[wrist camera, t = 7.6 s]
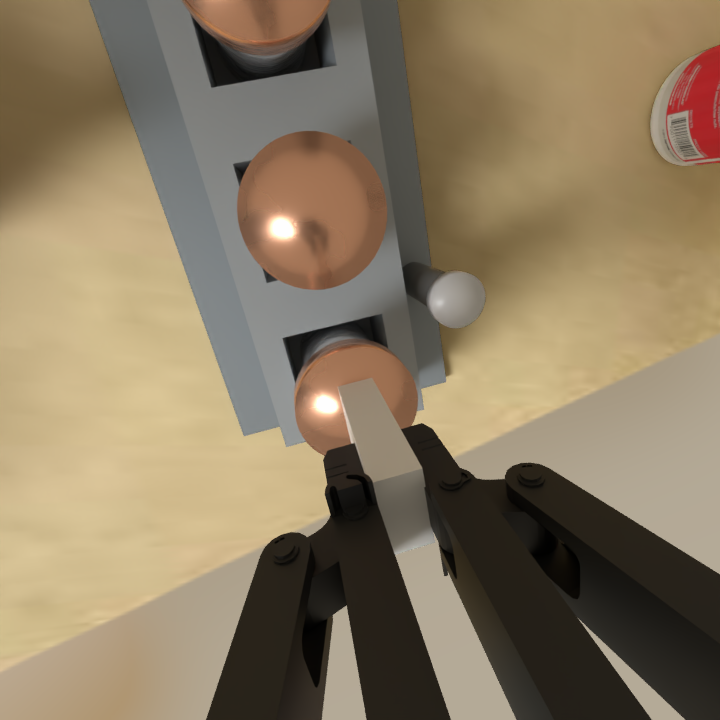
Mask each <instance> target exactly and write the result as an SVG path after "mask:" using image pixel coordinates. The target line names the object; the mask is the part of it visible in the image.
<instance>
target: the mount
mask: <svg viewBox="0 0 720 720" xmlns="http://www.w3.org/2000/svg"><path fill="white" fill-rule="evenodd" d="M89 2H90V4H91V7H92V10H93V13H94V16H95V18H96V21H97V24H98V27H99V30H100V33H101V35H102V38H103V41H104V44H105V47H106V49H107V52H108V55H109V58H110V61H111V63H112V66H113V69H114V72H115V75H116V78H117V80H118V83H119V86H120V89H121V92H122V94H123V97H124V100H125V103H126V106H127V109H128V111H129V114H130V117H131V120H132V123H133V125H134V128H135V131H136V134H137V137H138V139H139V142H140V145H141V148H142V151H143V154H144V156H145V159H146V162H147V165H148V168H149V170H150V173H151V176H152V179H153V182H154V184H155V187H156V190H157V193H158V196H159V199H160V201H161V204H162V207H163V210H164V213H165V215H166V218H167V221H168V224H169V227H170V229H171V232H172V235H173V238H174V241H175V244H176V246H177V249H178V252H179V255H180V258H181V260H182V263H183V266H184V269H185V272H186V275H187V277H188V280H189V283H190V286H191V289H192V291H193V294H194V297H195V300H196V303H197V305H198V308H199V311H200V314H201V317H202V320H203V322H204V325H205V328H206V331H207V334H208V336H209V339H210V342H211V345H212V348H213V350H214V353H215V356H216V359H217V362H218V365H219V367H220V370H221V373H222V376H223V379H224V381H225V384H226V387H227V390H228V393H229V395H230V398H231V401H232V404H233V407H234V410H235V412H236V415H237V418H238V421H239V424H240V426H241V429H242V432H243V435H244V436H246V435H250V434H254V433H257V432H261V431H265V430H269V429H272V428H276V427H280V428H281V431H282V435H283V438H284V441H285V444H286V447H288V446H292V445H296V444H299V443H303V442H306V441H305V439H304V438H303V436H302V435H301V433H300V431H299V428H298V426H297V422H296V418H295V406H294V388H295V383H296V380H297V377H298V375H299V373H300V371H301V369H302V362H301V356H300V341H301V338H302V335H303V333H305V332H309V331H313V330H317V329H321V328H325V327H329V326H333V325H337V324H342V323H346V322H350V321H355V322H356V323H357V324H358V325H359V326H360V327H361V328H362V330H363V331H364V333H365V334H366V336H367V337H368V338H369V340H371V341H374V342H377V343H379V344H381V345H383V346H385V347H387V348H388V349H389V350H391V351H392V352H393V353H394V354H395V355H396V356H397V357H398V358H399V360H400V361H401V362H402V363H403V365H404V366H405V367H406V368H407V369H408V371H409V372H410V374H411V375H412V377H413V379H414V382H415V384H416V388H417V393H418V407H417V411H420V410H424V406H423V399H422V393H421V389H422V388H425V387H429V386H433V385H437V384H440V383H444V382H446V376H445V368H444V360H443V353H442V345H441V337H440V329H439V322H438V321H437V320H436V319H434V318H433V317H432V316H431V314H430V312H429V310H428V308H427V306H425V305H424V304H422V303H421V302H419V301H417V300H416V299H414V298H413V297H411V296H410V295H408V294H407V293H406V290H405V284H404V278H403V271H402V268H403V267H404V266H405V265H407V264H409V263H411V262H419V263H422V264H424V265H427V266H430V267H431V260H430V252H429V244H428V236H427V229H426V221H425V213H424V205H423V198H422V190H421V182H420V174H419V167H418V159H417V151H416V143H415V136H414V128H413V120H412V112H411V105H410V97H409V89H408V81H407V74H406V66H405V58H404V50H403V43H402V35H401V27H400V19H399V12H398V4H397V0H331V3H330V6H329V8H328V11H327V13H326V15H325V17H324V19H323V20H322V22H321V24H320V25H319V27H318V28H317V29H316V31H315V32H314V33H313V34H312V35H311V36H310V37H309V38H308V39H307V42H306V48H305V54H304V59H303V62H302V65H301V68H300V70H299V72H297V73H292V74H286V75H280V76H275V77H269V78H264V79H258V80H252V81H247V82H240V81H239V80H238V79H236V78H235V77H234V76H233V75H232V74H231V73H230V71H229V70H228V69H227V67H226V66H225V64H224V62H223V61H222V59H221V56H220V54H219V52H218V49H217V46H216V44H215V41H214V38H213V37H212V36H211V35H210V34H209V33H208V32H207V31H206V30H204V29H203V28H202V27H201V26H200V25H199V23H198V22H197V21H196V20H195V19H194V18H193V17H192V15H191V14H190V13H189V11H188V10H187V8H186V7H185V5H184V4H183V2H182V0H89ZM300 131H319V132H324V133H329V134H332V135H335V136H337V137H339V138H341V139H343V140H345V141H347V142H349V143H350V144H352V145H353V146H355V147H356V148H357V149H358V150H359V151H360V152H361V153H363V154H364V156H365V157H366V158H367V159H368V160H369V161H370V163H371V164H372V166H373V167H374V169H375V170H376V172H377V174H378V176H379V178H380V180H381V183H382V186H383V189H384V192H385V197H386V203H387V223H386V230H385V234H384V238H383V241H382V243H381V246H380V248H379V250H378V252H377V254H376V255H375V257H374V259H373V260H372V261H371V263H370V264H369V265H368V266H367V267H366V268H365V269H364V270H363V271H362V272H361V273H360V274H359V275H357V276H356V277H355V278H353V279H352V280H350V281H348V282H346V283H344V284H342V285H340V286H336V287H333V288H329V289H323V290H308V289H301V288H297V287H293V286H290V285H288V284H285V283H283V282H281V281H279V280H277V279H276V278H274V277H273V276H271V275H270V274H269V273H267V272H266V271H265V270H264V269H263V268H262V267H261V266H260V265H259V264H258V263H257V261H256V260H255V259H254V258H253V256H252V255H251V253H250V252H249V250H248V248H247V246H246V244H245V242H244V240H243V237H242V234H241V232H240V228H239V223H238V216H237V198H238V192H239V187H240V184H241V180H242V178H243V175H244V173H245V171H246V169H247V167H248V166H249V164H250V162H251V161H252V159H253V158H254V157H255V156H256V155H257V154H258V152H259V151H261V150H262V149H263V148H264V147H265V146H266V145H267V144H269V143H271V142H272V141H274V140H275V139H277V138H280V137H282V136H284V135H287V134H290V133H294V132H300Z"/></svg>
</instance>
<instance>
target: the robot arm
mask: <svg viewBox="0 0 720 720" xmlns="http://www.w3.org/2000/svg"><path fill="white" fill-rule="evenodd" d="M338 390H339V395H340V399H341V403H342V407H343V411H344V415H345V419H346V424H347V428H348V432H349V436H350V440H351V444H349V445H345V446H341V447H338V448H334V449H331V450H327V453H326V455H325V457H324V460H323V462H324V467H325V473H326V478H327V487H326V489H325V496H326V500H327V503H328V507H329V510H330V514H331V516H330V518H329V520H328V521H327V523H326V524H325V525H324V526H323V527H322V528H321V529H320V530H318V531H317V532H316V533H314V534H312V535H311V536H309V537H306V536H305V535H303V534H301V533H293V532H290V533H286V534H283V535H280V536H278V537H277V538H275V539H273V540H272V541H271V542H270V543H269V544H268V545H267V546H266V547H265V548H264V550H263V552H262V554H261V556H260V559H259V562H258V565H257V568H256V571H255V574H254V577H253V580H252V583H251V586H250V589H249V592H248V595H247V598H246V601H245V604H244V607H243V610H242V613H241V616H240V619H239V622H238V625H237V628H236V632H235V634H234V637H233V641H232V643H231V646H230V649H229V652H228V656H227V658H226V661H225V664H224V667H223V670H222V674H221V677H220V679H219V683H218V686H217V689H216V692H215V695H214V698H213V701H212V704H211V707H210V710H209V713H208V716H207V719H206V720H322V711H323V702H324V694H325V684H326V676H327V666H328V659H329V649H330V640H331V632H332V623H333V614H335V613H336V612H337V611H339V610H340V609H342V608H343V607H345V606H346V605H347V609H348V615H349V621H350V626H351V632H352V638H353V644H354V649H355V655H356V660H357V667H358V672H359V678H360V684H361V690H362V695H363V701H364V707H365V713H366V718H367V720H451V719H450V716H449V713H448V710H447V707H446V704H445V701H444V698H443V696H442V692H441V689H440V686H439V684H438V681H437V678H436V675H435V672H434V669H433V666H432V663H431V660H430V657H429V654H428V651H427V648H426V645H425V643H424V640H423V636H422V633H421V630H420V627H419V624H418V622H417V619H416V616H415V613H414V610H413V607H412V604H411V601H410V598H409V595H408V592H407V589H406V586H405V583H404V580H403V578H402V574H401V571H400V569H399V566H398V563H397V560H396V557H395V555H396V554H400V553H403V552H406V551H409V550H412V549H416V548H419V547H422V546H425V545H429V544H432V543H435V540H434V534H435V536H436V538H437V540H438V542H439V547H440V553H441V560H442V566H443V572H444V576H447V575H448V573H449V575H450V577H451V579H452V581H453V583H454V586H455V588H456V590H457V592H458V594H459V596H460V599H461V600H462V603H463V605H464V607H465V609H466V611H467V614H468V616H469V618H470V620H471V622H472V624H473V626H474V629H475V631H476V633H477V635H478V637H479V640H480V642H481V644H482V646H483V648H484V650H485V653H486V655H487V657H488V659H489V661H490V663H491V665H492V668H493V670H494V672H495V674H496V676H497V679H498V681H499V683H500V685H501V687H502V689H503V691H504V694H505V696H506V698H507V700H508V702H509V704H510V707H511V709H512V711H513V713H514V715H515V717H516V719H517V720H651V718H650V717H649V715H648V714H647V713H646V711H645V710H644V709H643V707H642V706H641V705H640V703H639V702H638V700H637V699H636V698H635V696H634V695H633V694H632V692H631V691H630V689H629V688H628V687H627V685H626V684H625V683H624V681H623V680H622V678H621V677H620V676H619V674H618V673H617V672H616V670H615V669H614V667H613V666H612V665H611V663H610V662H609V661H608V659H607V658H606V656H605V655H604V654H603V652H602V651H601V650H600V648H599V647H598V645H597V644H596V643H595V641H594V640H593V639H592V637H591V636H590V635H589V633H588V632H587V630H586V629H585V628H584V626H583V625H582V623H581V622H580V621H579V619H580V620H581V621H582V622H583V623H584V624H585V625H586V626H587V627H588V628H589V629H590V630H591V631H592V632H593V633H594V634H596V635H597V636H598V637H599V638H600V639H601V640H602V641H603V642H604V643H605V644H606V645H607V646H608V647H609V648H610V649H611V650H613V651H614V652H615V653H616V654H617V655H618V656H619V657H620V658H621V659H622V660H623V661H624V662H625V663H626V664H627V665H628V666H629V667H630V668H631V669H633V670H634V671H635V672H636V673H637V674H638V675H639V676H640V677H641V678H642V679H643V680H644V681H645V682H646V683H647V684H648V685H650V686H651V687H652V688H653V689H654V690H655V691H656V692H657V693H658V694H659V695H660V696H661V697H662V698H663V699H664V700H665V701H666V702H667V703H669V704H670V705H671V706H672V707H673V708H674V709H675V710H676V711H677V712H678V713H679V714H680V715H681V716H682V717H683V718H684V719H685V720H720V574H718V573H717V572H715V571H713V570H712V569H710V568H709V567H707V566H705V565H704V564H702V563H700V562H699V561H697V560H696V559H694V558H692V557H691V556H689V555H688V554H686V553H685V552H683V551H681V550H680V549H678V548H676V547H675V546H673V545H672V544H670V543H668V542H667V541H665V540H663V539H662V538H660V537H658V536H657V535H655V534H654V533H652V532H651V531H649V530H647V529H646V528H644V527H643V526H641V525H639V524H638V523H636V522H635V521H633V520H631V519H630V518H628V517H627V516H625V515H623V514H622V513H620V512H618V511H617V510H615V509H614V508H612V507H610V506H609V505H607V504H606V503H604V502H602V501H601V500H599V499H598V498H596V497H594V496H593V495H591V494H590V493H588V492H586V491H585V490H583V489H582V488H580V487H578V486H577V485H575V484H573V483H572V482H570V481H569V480H567V479H565V478H564V477H562V476H561V475H559V474H557V473H556V472H554V471H553V470H551V469H549V468H547V467H545V466H543V465H540V464H535V463H520V464H518V465H514V466H512V467H511V468H510V469H508V470H507V472H506V475H505V479H500V480H499V479H498V480H482V479H477V478H475V477H474V475H472V474H471V473H470V472H469V471H467V470H464V469H462V468H459V466H458V465H457V463H456V462H455V460H454V459H453V458H452V456H451V455H450V453H449V452H448V450H447V449H446V448H445V446H444V445H443V443H442V442H441V440H440V439H438V436H437V435H436V433H435V432H434V430H433V429H432V428H430V427H428V426H426V425H424V424H422V423H421V424H418V425H414V426H410V427H407V428H403V429H400V427H399V425H398V423H397V422H396V420H395V418H394V416H393V414H392V413H391V411H390V409H389V407H388V405H387V404H386V402H385V400H384V398H383V396H382V395H381V393H380V391H379V389H378V387H377V386H376V384H375V382H374V380H373V378H368V379H365V380H361V381H357V382H353V383H349V384H345V385H342V386H338ZM433 532H434V534H433ZM447 571H448V572H447ZM577 617H578V618H579V619H578V618H577Z"/></svg>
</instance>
